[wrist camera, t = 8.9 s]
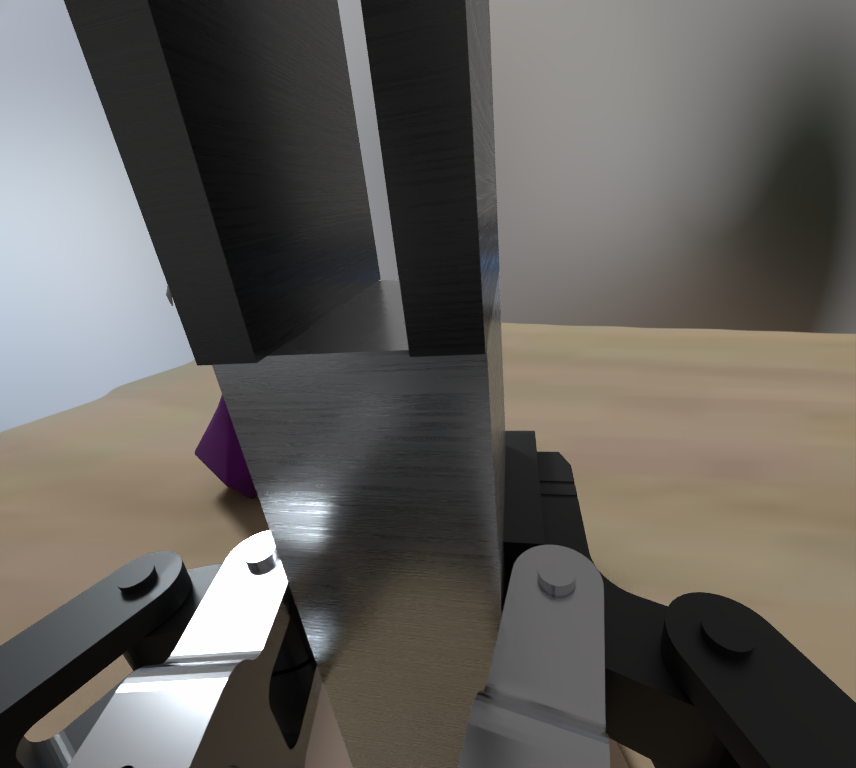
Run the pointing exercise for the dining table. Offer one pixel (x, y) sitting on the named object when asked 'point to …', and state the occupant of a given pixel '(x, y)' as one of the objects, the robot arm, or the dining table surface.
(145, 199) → the grey long forked bar
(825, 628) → the dining table surface
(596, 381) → the dining table surface
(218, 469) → the perfume bottle
